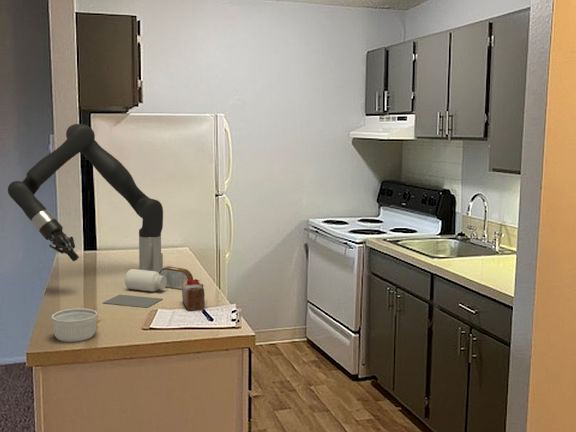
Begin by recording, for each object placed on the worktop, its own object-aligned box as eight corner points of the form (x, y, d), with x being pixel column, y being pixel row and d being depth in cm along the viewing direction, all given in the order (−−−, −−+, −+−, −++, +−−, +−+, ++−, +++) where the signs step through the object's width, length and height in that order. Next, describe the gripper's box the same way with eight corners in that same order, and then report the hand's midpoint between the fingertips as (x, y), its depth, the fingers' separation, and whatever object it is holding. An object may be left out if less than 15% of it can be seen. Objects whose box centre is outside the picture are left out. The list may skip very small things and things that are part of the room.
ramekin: (71, 346, 184) (71, 323, 183) (42, 338, 190) (41, 315, 190) (107, 334, 195) (106, 312, 194) (78, 327, 202) (77, 305, 201)
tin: (193, 289, 250) (193, 269, 249) (189, 291, 247) (189, 270, 246) (162, 285, 256) (162, 265, 255) (157, 287, 254) (157, 266, 252)
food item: (180, 301, 233) (179, 275, 232) (201, 300, 236) (201, 274, 234) (185, 311, 220) (185, 284, 219) (208, 310, 223) (208, 283, 221)
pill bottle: (122, 285, 244) (156, 289, 240) (127, 265, 247) (161, 269, 243) (132, 291, 251) (165, 295, 247) (137, 272, 254) (170, 275, 250)
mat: (102, 303, 228) (102, 302, 228) (119, 295, 240) (119, 294, 240) (147, 308, 224) (147, 307, 224) (162, 299, 235) (162, 298, 235)
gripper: (42, 220, 230) (72, 256, 229) (63, 216, 243) (92, 250, 242) (29, 233, 232) (59, 269, 231) (51, 228, 245) (79, 262, 244)
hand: (76, 259), depth 236 cm, fingers closed
